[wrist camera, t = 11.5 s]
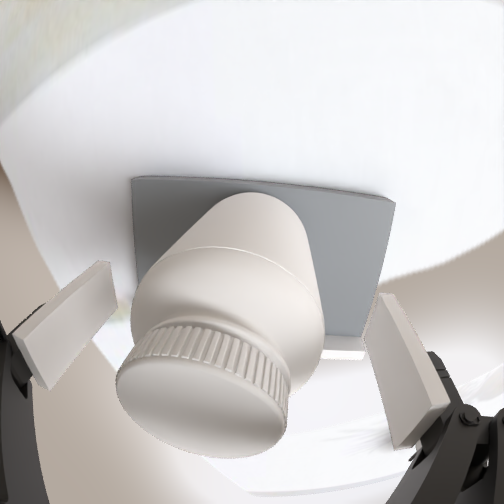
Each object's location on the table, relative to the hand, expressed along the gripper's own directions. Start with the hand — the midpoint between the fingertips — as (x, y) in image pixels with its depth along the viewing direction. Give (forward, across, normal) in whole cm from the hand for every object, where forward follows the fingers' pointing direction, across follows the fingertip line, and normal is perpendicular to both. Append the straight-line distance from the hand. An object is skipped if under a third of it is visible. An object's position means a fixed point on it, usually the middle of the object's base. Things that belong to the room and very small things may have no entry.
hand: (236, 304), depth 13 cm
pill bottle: (+9, 0, 0) cm, 9 cm away
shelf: (+11, 0, -2) cm, 11 cm away
